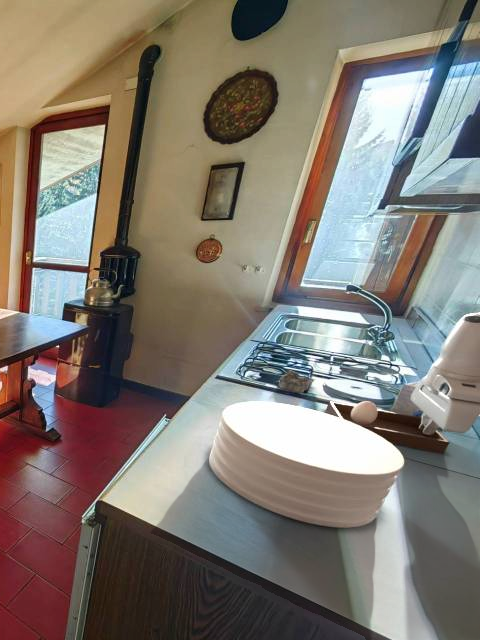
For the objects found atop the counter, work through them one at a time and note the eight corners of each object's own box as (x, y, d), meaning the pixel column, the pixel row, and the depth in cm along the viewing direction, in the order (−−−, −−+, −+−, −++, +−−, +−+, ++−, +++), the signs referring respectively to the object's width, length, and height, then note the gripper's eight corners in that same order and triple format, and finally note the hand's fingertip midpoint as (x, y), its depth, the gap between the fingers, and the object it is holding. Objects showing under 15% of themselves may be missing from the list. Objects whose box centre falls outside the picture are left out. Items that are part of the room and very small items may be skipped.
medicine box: (410, 418, 108) (425, 389, 104) (389, 411, 112) (403, 383, 108) (424, 413, 111) (438, 385, 107) (403, 406, 115) (416, 379, 111)
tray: (418, 427, 103) (424, 417, 102) (443, 453, 92) (450, 442, 90) (325, 410, 112) (329, 401, 111) (337, 431, 101) (342, 421, 99)
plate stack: (180, 457, 89) (192, 413, 85) (261, 435, 99) (276, 394, 94) (320, 545, 65) (346, 490, 61) (409, 504, 75) (438, 454, 70)
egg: (356, 419, 106) (366, 397, 103) (376, 427, 102) (387, 404, 99) (342, 420, 105) (352, 398, 102) (362, 429, 101) (373, 406, 98)
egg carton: (287, 379, 133) (291, 368, 132) (314, 387, 127) (319, 375, 126) (273, 386, 128) (277, 374, 126) (301, 394, 122) (305, 382, 120)
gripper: (416, 366, 102) (393, 412, 107) (455, 393, 85) (424, 447, 91) (451, 370, 99) (425, 418, 104) (497, 400, 82) (463, 455, 88)
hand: (425, 432), depth 97 cm, fingers closed, pressing on tray
